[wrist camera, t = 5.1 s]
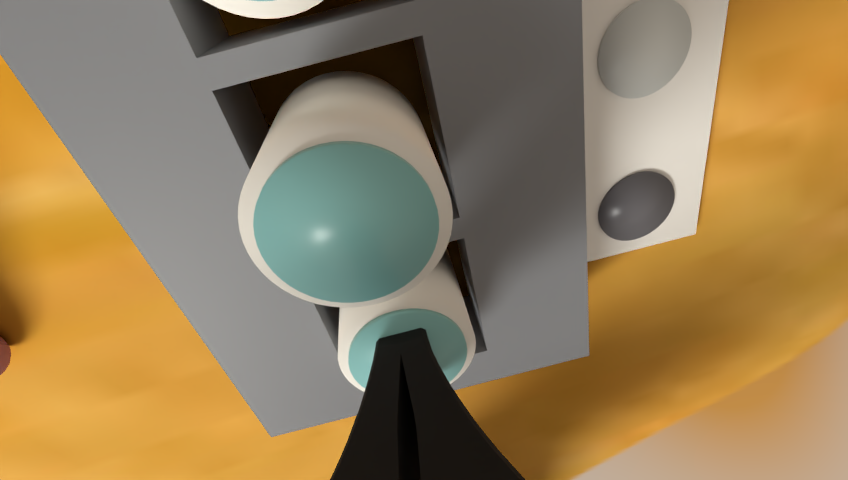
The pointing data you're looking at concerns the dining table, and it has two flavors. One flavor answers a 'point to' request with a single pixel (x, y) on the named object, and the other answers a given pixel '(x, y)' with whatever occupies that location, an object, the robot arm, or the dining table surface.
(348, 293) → the button middle
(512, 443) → the dining table surface
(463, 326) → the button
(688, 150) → the card
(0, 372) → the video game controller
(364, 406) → the robot arm
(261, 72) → the button board
